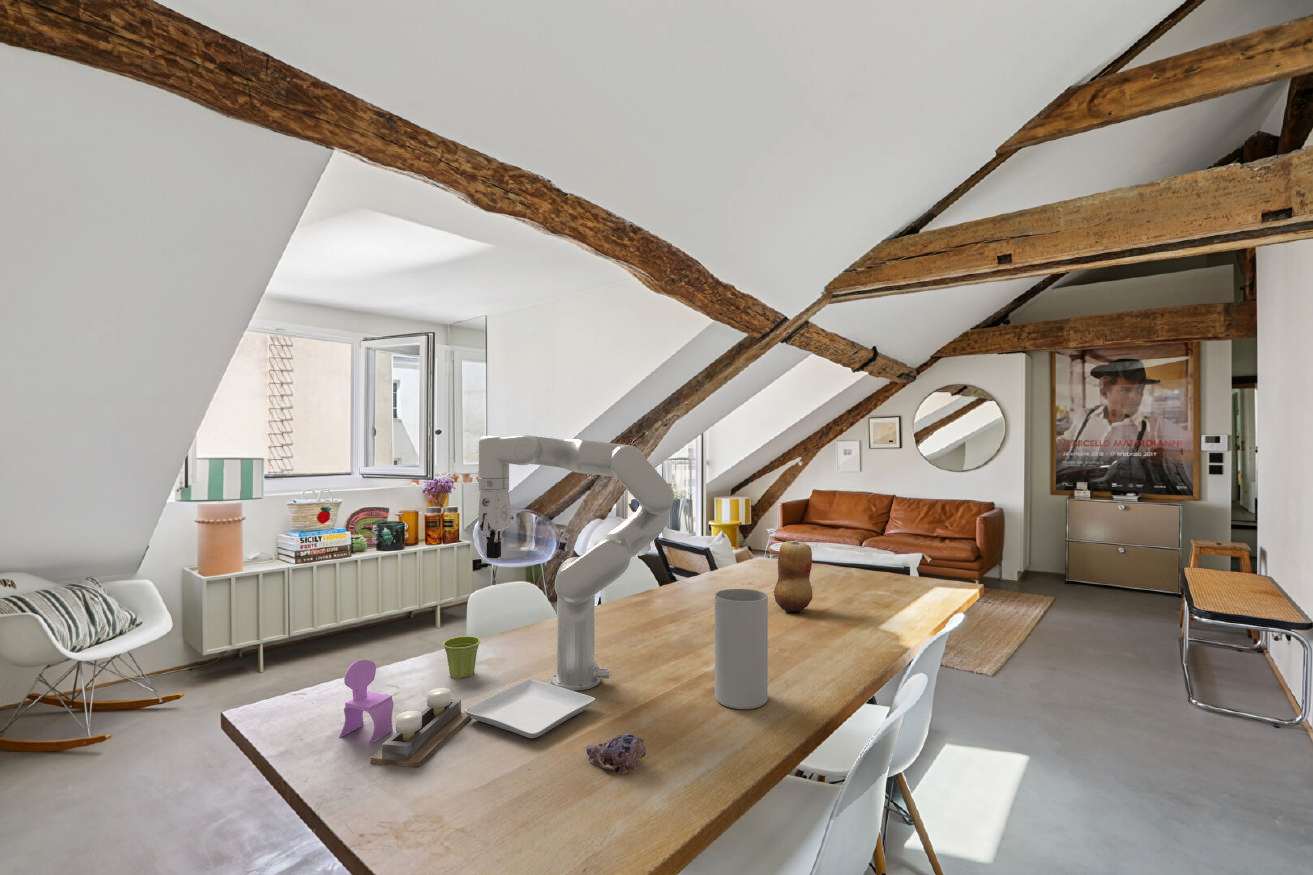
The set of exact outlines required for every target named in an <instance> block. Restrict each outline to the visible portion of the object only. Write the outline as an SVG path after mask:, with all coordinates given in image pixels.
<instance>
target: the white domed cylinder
mask: <svg viewBox="0 0 1313 875" xmlns="http://www.w3.org/2000/svg"><path fill="white" fill-rule="evenodd" d="M421 727H422V713H421V711H419V710H407V711H404V712H400V713H399V714H397V715H396V716H395V733H397V732H398V733H402V734H403V742H408V741H409V740H410V739H411V738H412V737H413V736H415V732H416V731H418V730H419V729H421Z"/></svg>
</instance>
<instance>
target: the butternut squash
mask: <svg viewBox="0 0 1313 875" xmlns="http://www.w3.org/2000/svg"><path fill="white" fill-rule="evenodd" d="M812 565H813V551H812V548H811V546H810V545H809V544H807V543H805V542H801V541H796V540H790V541H789V540H788V541H787V540H786V541H785V542H783V543H781V545H780V547H779V550H778V557H777V574H778V577H777V582H776V583H775V586H774V590H773V597H774V600H775V602H776V604H777V605H778V606H779V607H780V609H782V610H783V611H784V612H786V613H792V612H793V613H798V612H802V611H803V610H804V609H805V608H808V606H809V605H810V603H811V602H812V600H813V588H812V585H811V581H810V576H811V571H812Z"/></svg>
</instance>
